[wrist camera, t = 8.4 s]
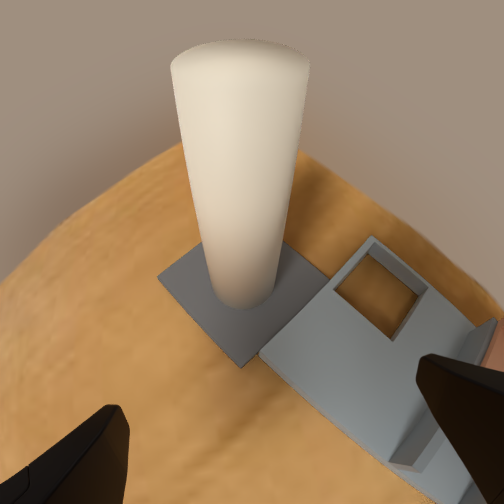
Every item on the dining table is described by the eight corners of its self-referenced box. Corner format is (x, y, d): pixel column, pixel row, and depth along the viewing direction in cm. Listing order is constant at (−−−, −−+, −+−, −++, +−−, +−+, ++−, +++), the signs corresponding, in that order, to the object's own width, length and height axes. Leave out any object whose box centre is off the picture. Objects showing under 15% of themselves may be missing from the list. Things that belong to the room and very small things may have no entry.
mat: (240, 368, 17) (240, 367, 16) (158, 279, 20) (156, 276, 19) (328, 282, 20) (329, 279, 19) (244, 212, 23) (244, 209, 22)
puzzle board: (447, 510, 11) (485, 519, 7) (258, 356, 17) (262, 336, 14) (516, 387, 15) (553, 373, 11) (364, 246, 21) (385, 209, 18)
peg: (234, 321, 18) (214, 103, 6) (199, 272, 20) (151, 59, 8) (287, 286, 19) (338, 70, 7) (250, 243, 21) (255, 33, 9)
